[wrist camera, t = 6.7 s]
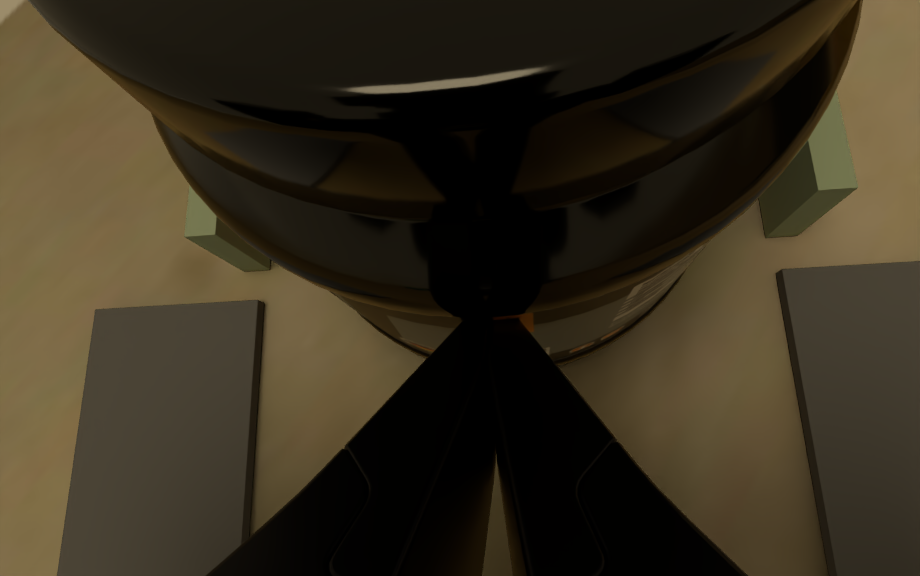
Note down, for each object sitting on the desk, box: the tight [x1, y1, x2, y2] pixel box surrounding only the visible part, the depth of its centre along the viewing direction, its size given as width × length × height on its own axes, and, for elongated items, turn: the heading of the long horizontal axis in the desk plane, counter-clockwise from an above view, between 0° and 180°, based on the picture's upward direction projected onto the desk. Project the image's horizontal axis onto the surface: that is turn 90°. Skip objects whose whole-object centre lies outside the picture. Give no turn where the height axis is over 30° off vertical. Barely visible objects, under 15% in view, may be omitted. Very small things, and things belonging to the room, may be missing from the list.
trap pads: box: [57, 261, 920, 576], centre depth 14 cm, size 11×24×1 cm, turn 92°
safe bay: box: [184, 91, 858, 272], centre depth 16 cm, size 9×15×3 cm, turn 92°
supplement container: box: [28, 0, 863, 366], centre depth 11 cm, size 10×10×12 cm
